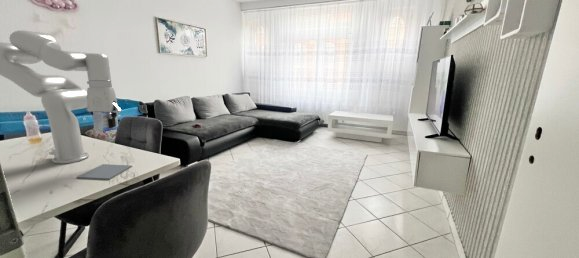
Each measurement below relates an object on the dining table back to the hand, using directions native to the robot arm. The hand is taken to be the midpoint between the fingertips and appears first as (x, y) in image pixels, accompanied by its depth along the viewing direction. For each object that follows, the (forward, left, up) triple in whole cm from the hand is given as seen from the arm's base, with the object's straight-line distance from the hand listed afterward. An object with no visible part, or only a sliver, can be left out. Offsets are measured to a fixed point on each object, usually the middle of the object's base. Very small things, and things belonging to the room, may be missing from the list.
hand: (106, 126), depth 106 cm
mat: (+5, -10, -17) cm, 20 cm away
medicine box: (0, 0, -2) cm, 2 cm away
